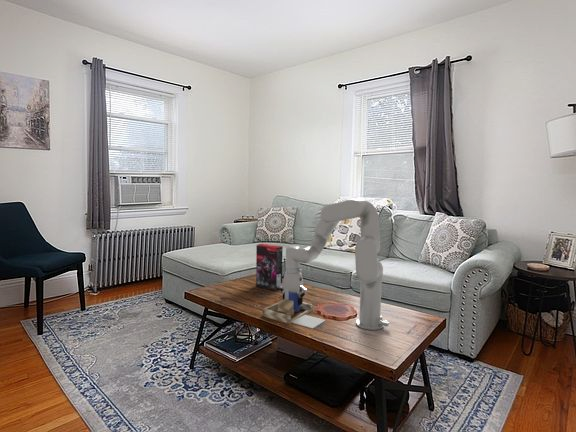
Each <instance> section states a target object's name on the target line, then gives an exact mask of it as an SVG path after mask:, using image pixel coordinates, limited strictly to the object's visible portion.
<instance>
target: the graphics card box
mask: <svg viewBox="0 0 576 432" xmlns="http://www.w3.org/2000/svg"><path fill="white" fill-rule="evenodd" d="M283 249H284V247H283V246H282V245H275V244H268V243H259V244H257V245H256V254H255V255H256V259H255V261H256V264H255V265H256V266H255V267H256V271H255V272H256V274H255V275H256V276H255V280H256V281H255V286H256V287H259V288H264V289H267V290H273V291H280V287H279V284H281V283H283Z"/></svg>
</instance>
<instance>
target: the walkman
mask: <svg viewBox="0 0 576 432" xmlns="http://www.w3.org/2000/svg"><path fill="white" fill-rule="evenodd" d="M298 298H299V296H298V295H297V293H292V292H289V290H288V289H285V300H291V301H293V309H294V313H300V312H301V309H300V305H298Z"/></svg>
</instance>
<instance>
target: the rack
mask: <svg viewBox="0 0 576 432" xmlns="http://www.w3.org/2000/svg"><path fill="white" fill-rule="evenodd" d="M279 302H280V301H278V302H276V303H274V304H272V305H268V306H267V307H265V308H262V317H263V318H264V317H265V318H267V319H271V320H275V321H279V322H282V323H284V324H285V323H286V324H292V323H291V322H292V321H294V320H296V319H298V318H299V317H301V316H303V315H308V314H309V313H312V312H313V303H307V302H304V301H303V303H302V304H301V305H300V310H303V312H301V313H299V314H297V315H294V317H293V318H291V316H290V315H286V314H282V313H279V312H277V310H278V303H279Z"/></svg>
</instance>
